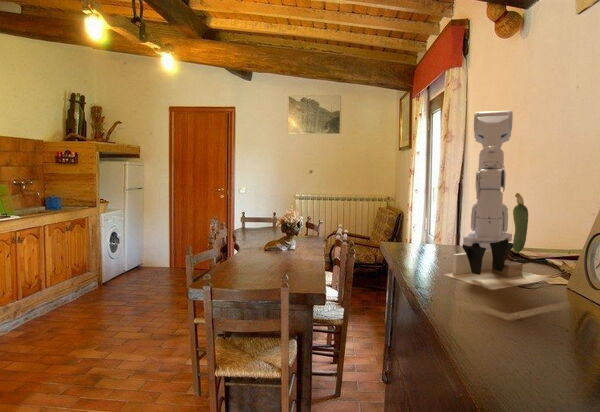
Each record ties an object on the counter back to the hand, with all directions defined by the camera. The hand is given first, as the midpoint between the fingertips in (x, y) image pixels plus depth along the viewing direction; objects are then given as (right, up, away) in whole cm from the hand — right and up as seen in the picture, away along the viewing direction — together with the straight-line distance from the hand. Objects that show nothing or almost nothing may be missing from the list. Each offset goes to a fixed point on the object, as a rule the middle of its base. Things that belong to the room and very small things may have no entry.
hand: (486, 272), depth 105 cm
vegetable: (+25, +1, +33) cm, 41 cm away
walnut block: (+6, -1, +3) cm, 7 cm away
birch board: (+3, -2, +1) cm, 4 cm away
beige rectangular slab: (0, -1, +7) cm, 7 cm away
